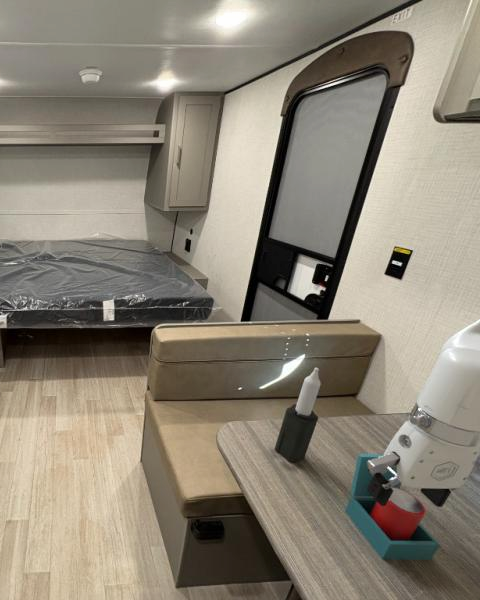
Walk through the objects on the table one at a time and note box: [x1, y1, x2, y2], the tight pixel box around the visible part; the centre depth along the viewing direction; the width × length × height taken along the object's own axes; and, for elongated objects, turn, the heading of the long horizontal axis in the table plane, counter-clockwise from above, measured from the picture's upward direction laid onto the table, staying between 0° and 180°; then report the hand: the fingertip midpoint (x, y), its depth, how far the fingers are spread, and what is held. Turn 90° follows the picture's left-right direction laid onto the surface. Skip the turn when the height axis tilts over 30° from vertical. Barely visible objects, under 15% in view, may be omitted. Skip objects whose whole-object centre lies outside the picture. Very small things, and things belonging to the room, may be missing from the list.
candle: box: [274, 367, 321, 465], centre depth 73 cm, size 5×5×25 cm
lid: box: [350, 453, 402, 497], centre depth 61 cm, size 9×9×1 cm
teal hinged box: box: [344, 496, 441, 560], centre depth 59 cm, size 9×9×5 cm
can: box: [370, 487, 426, 541], centre depth 58 cm, size 6×6×9 cm
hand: (402, 498), depth 56 cm, fingers open, 9 cm apart
